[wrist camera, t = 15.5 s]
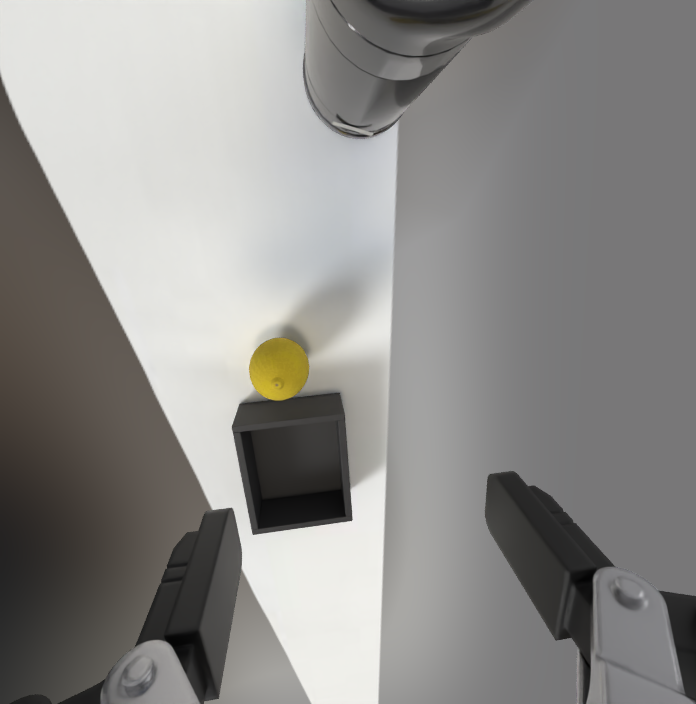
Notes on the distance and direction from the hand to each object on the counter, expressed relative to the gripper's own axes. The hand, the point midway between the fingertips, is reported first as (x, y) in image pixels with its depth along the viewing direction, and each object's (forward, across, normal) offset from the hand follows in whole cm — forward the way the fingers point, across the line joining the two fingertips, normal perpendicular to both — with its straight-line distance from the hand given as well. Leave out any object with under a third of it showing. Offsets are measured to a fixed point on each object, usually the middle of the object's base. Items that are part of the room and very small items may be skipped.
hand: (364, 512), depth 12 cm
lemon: (+28, +4, +4) cm, 29 cm away
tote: (+28, +4, +16) cm, 33 cm away
